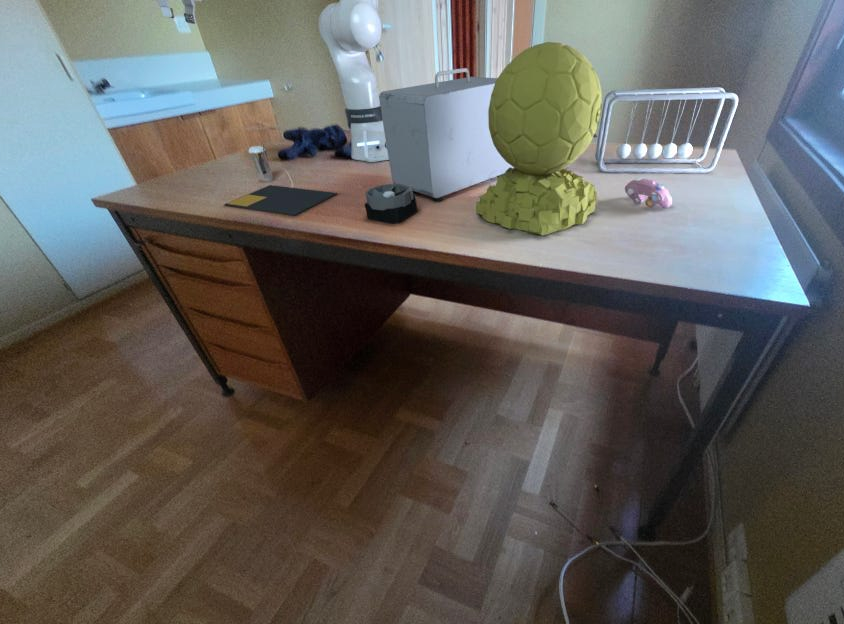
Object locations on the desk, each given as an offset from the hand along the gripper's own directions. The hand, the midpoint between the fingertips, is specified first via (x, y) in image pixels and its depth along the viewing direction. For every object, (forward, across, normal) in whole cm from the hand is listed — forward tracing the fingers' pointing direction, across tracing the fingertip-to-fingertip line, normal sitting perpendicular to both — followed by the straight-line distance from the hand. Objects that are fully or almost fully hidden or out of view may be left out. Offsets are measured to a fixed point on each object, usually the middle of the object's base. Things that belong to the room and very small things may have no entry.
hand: (180, 20), depth 92 cm
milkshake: (+35, +5, -12) cm, 37 cm away
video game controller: (+25, -34, -110) cm, 118 cm away
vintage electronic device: (+28, -8, -68) cm, 74 cm away
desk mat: (+36, -14, -22) cm, 44 cm away
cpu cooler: (+33, -30, -53) cm, 69 cm away
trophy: (+29, -35, -85) cm, 97 cm away
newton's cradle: (+20, -6, -122) cm, 124 cm away
